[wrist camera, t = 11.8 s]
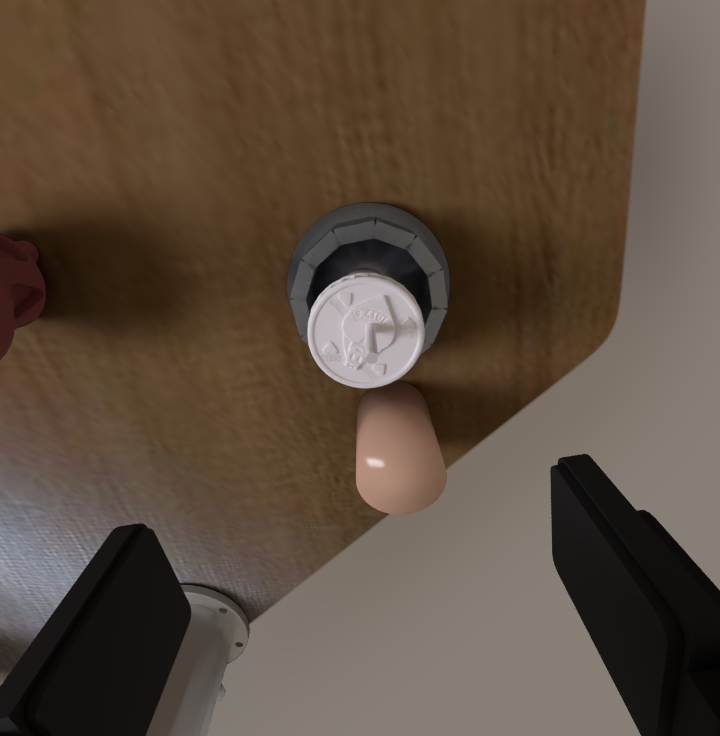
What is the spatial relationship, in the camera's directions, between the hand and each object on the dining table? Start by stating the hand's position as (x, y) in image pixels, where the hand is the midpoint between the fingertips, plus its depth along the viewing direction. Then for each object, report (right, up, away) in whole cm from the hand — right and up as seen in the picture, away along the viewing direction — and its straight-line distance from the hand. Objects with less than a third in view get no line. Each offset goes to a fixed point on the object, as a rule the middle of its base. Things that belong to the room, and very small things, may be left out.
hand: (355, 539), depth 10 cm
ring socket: (+1, +10, +22) cm, 25 cm away
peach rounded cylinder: (+3, 0, +27) cm, 27 cm away
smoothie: (0, +10, +22) cm, 24 cm away
